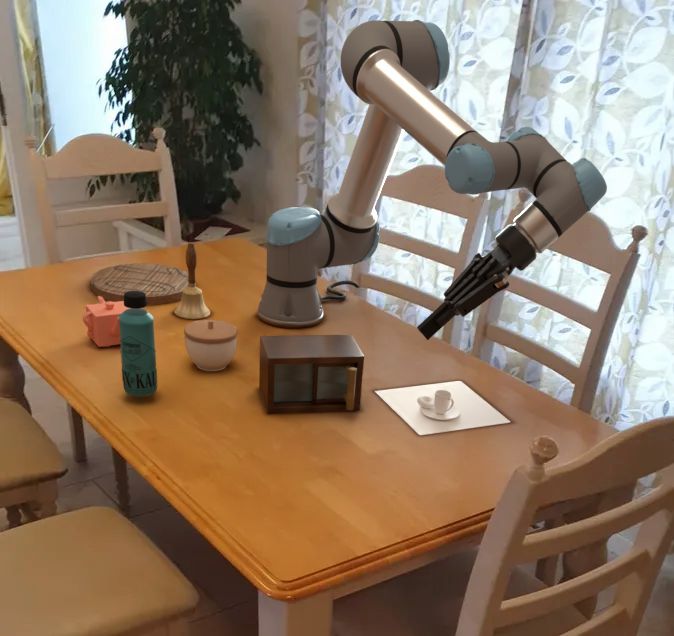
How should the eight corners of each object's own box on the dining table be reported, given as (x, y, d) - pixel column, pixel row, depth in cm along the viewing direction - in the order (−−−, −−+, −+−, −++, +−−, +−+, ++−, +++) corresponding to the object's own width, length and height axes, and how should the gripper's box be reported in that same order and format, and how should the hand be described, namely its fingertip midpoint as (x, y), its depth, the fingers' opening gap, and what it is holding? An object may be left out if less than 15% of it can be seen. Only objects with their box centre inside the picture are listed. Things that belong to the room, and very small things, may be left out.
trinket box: (228, 379, 183) (228, 333, 177) (178, 371, 184) (176, 326, 178) (243, 359, 191) (243, 315, 185) (195, 352, 192) (193, 308, 187)
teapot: (128, 325, 202) (125, 288, 197) (151, 350, 192) (149, 311, 187) (75, 332, 197) (71, 294, 192) (96, 357, 187) (92, 318, 182)
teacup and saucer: (410, 404, 178) (413, 385, 176) (445, 400, 181) (448, 381, 179) (431, 424, 172) (434, 404, 170) (467, 419, 175) (470, 399, 172)
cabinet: (347, 387, 183) (351, 334, 177) (359, 410, 175) (364, 356, 168) (259, 389, 180) (259, 335, 173) (267, 413, 171) (268, 358, 165)
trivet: (111, 266, 233) (110, 259, 232) (205, 277, 232) (205, 269, 230) (75, 298, 213) (74, 290, 212) (178, 309, 212) (178, 301, 210)
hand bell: (216, 310, 213) (215, 240, 203) (200, 322, 206) (198, 250, 197) (184, 304, 215) (181, 234, 205) (168, 315, 208) (164, 244, 199)
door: (350, 400, 175) (354, 358, 170) (357, 412, 171) (360, 370, 166) (311, 401, 173) (314, 359, 168) (317, 414, 169) (319, 370, 164)
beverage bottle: (125, 389, 176) (117, 286, 164) (160, 390, 176) (154, 287, 164) (121, 404, 170) (113, 298, 158) (157, 405, 171) (151, 299, 159)
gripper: (550, 266, 155) (444, 361, 162) (522, 244, 165) (424, 334, 172) (527, 234, 151) (420, 333, 157) (500, 213, 161) (400, 307, 167)
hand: (422, 333), depth 164 cm, fingers closed
